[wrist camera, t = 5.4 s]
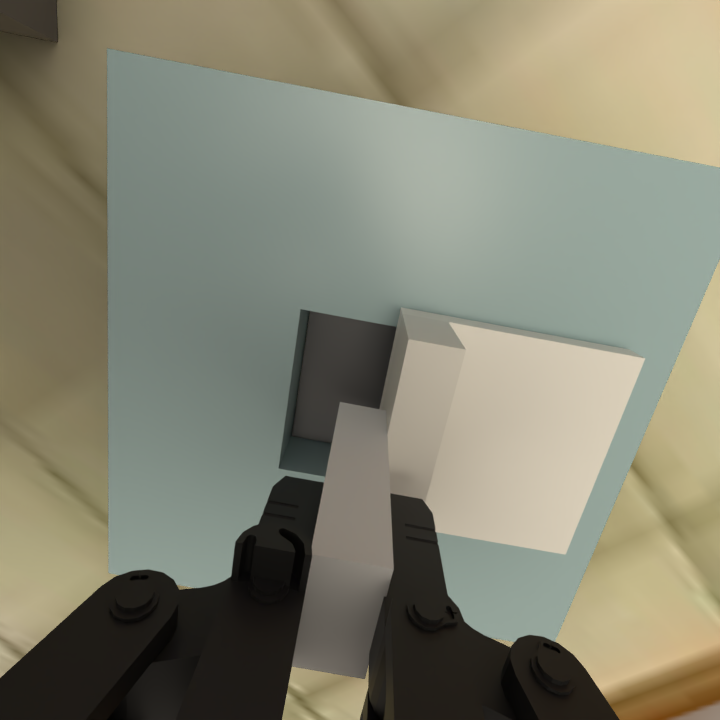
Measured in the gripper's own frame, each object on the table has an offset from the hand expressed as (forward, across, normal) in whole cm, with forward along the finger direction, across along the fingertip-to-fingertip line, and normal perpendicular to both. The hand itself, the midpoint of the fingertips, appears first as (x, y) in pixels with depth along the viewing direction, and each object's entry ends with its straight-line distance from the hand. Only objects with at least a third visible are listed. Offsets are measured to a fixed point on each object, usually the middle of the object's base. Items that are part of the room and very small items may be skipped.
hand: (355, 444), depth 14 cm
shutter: (+2, +5, 0) cm, 5 cm away
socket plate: (+6, +1, 0) cm, 6 cm away
